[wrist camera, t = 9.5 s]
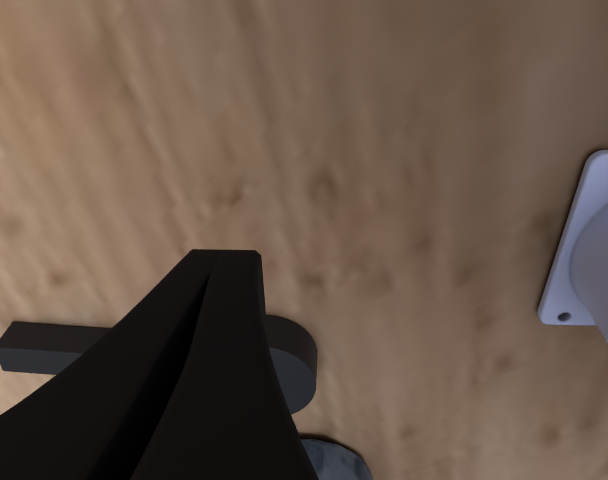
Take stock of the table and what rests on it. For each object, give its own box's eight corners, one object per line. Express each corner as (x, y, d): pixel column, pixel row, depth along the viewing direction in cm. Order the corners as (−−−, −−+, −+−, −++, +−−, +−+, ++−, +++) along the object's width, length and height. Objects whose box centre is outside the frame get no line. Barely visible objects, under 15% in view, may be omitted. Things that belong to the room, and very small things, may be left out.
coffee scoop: (29, 367, 26) (8, 399, 24) (3, 295, 23) (-23, 326, 21) (314, 388, 26) (312, 422, 24) (320, 318, 23) (319, 351, 21)
